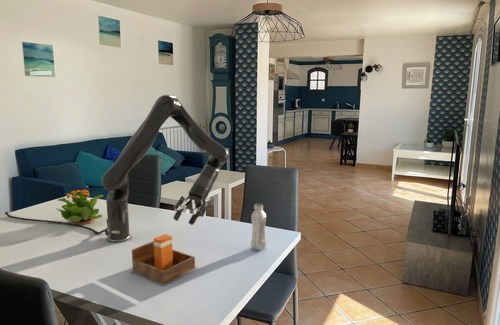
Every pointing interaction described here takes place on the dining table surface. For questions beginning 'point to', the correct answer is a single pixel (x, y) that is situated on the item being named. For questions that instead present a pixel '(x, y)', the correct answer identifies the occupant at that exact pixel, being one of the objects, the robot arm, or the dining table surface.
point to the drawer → (146, 266)
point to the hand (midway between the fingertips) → (182, 221)
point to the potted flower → (80, 208)
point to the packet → (163, 252)
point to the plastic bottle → (258, 228)
